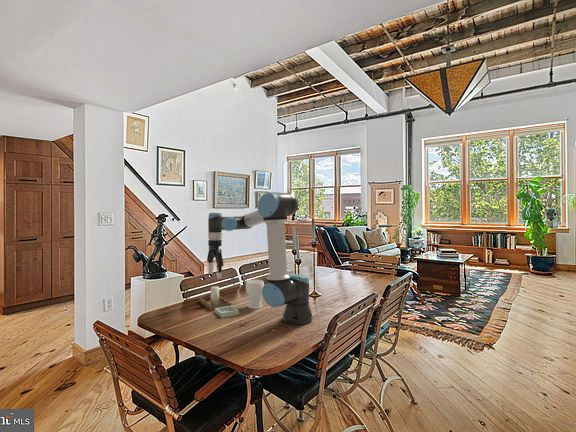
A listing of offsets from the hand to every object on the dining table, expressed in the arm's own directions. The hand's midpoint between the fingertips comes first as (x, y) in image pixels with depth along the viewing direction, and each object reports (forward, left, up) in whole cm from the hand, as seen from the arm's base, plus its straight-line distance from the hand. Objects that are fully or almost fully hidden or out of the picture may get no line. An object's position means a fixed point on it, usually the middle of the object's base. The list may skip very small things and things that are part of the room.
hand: (214, 275), depth 196 cm
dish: (-18, 0, -17) cm, 25 cm away
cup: (-16, -18, -18) cm, 30 cm away
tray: (0, 0, -17) cm, 17 cm away
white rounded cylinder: (0, 0, -17) cm, 17 cm away
